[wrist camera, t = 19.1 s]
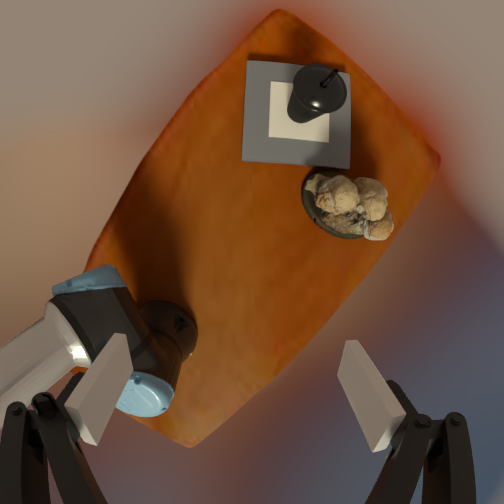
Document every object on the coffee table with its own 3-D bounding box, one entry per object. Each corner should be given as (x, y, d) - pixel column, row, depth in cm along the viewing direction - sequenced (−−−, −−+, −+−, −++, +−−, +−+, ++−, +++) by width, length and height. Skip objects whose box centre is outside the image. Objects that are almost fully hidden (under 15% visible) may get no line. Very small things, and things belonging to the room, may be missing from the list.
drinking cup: (328, 120, 44) (377, 88, 25) (293, 137, 45) (327, 110, 26) (306, 86, 42) (342, 37, 23) (271, 102, 43) (290, 55, 24)
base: (241, 161, 49) (241, 159, 46) (246, 66, 44) (247, 59, 41) (344, 169, 50) (350, 169, 47) (344, 78, 45) (350, 73, 42)
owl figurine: (284, 208, 52) (303, 219, 35) (312, 155, 49) (343, 143, 33) (357, 250, 54) (399, 275, 38) (383, 201, 52) (432, 210, 35)
